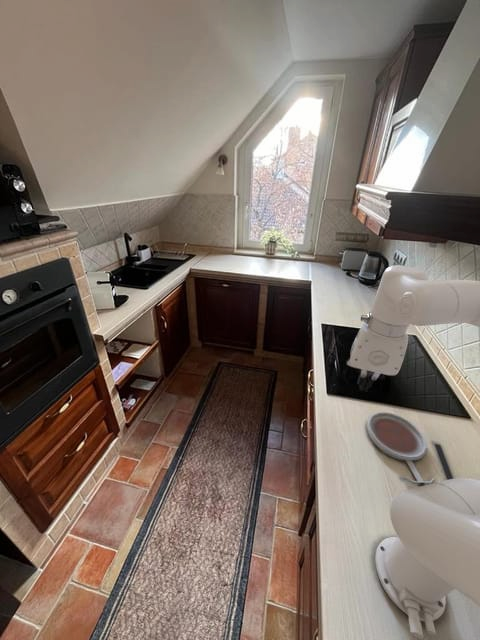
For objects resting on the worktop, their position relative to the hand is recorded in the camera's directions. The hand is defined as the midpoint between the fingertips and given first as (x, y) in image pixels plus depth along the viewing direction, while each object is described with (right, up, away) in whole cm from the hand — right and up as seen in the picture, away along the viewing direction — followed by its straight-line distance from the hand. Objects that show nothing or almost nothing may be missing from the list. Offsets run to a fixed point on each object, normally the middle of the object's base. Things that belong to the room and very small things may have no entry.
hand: (363, 387), depth 63 cm
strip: (+30, -26, +12) cm, 41 cm away
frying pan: (+19, -24, +14) cm, 34 cm away
